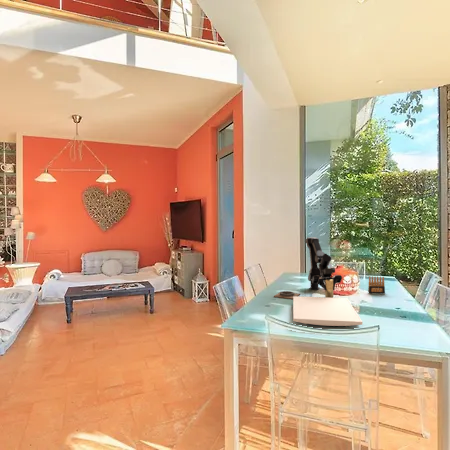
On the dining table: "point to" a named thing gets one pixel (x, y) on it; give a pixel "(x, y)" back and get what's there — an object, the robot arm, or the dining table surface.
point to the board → (324, 311)
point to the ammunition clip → (376, 285)
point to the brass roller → (329, 288)
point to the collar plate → (286, 294)
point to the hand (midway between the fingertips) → (329, 290)
